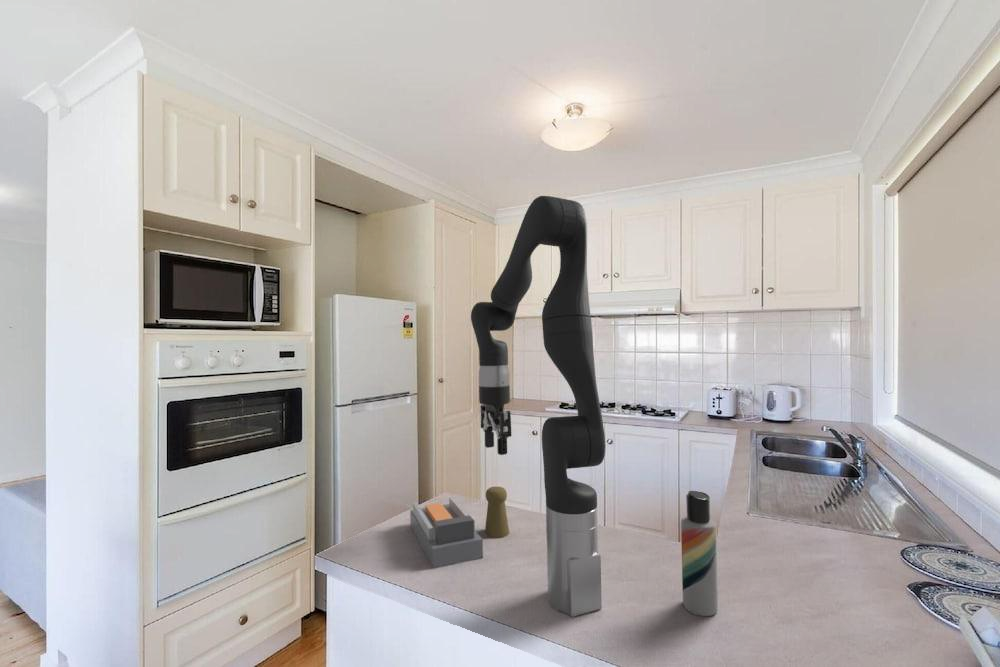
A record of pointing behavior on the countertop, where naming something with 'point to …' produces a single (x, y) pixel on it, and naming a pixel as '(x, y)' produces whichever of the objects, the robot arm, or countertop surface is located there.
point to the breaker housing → (447, 535)
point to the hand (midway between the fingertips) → (495, 450)
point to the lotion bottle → (699, 556)
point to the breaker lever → (437, 512)
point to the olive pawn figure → (496, 513)
